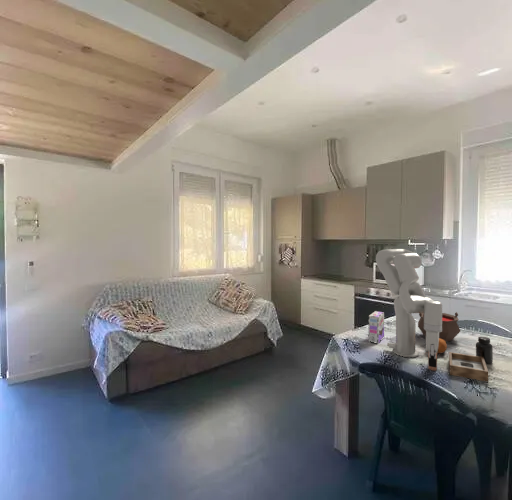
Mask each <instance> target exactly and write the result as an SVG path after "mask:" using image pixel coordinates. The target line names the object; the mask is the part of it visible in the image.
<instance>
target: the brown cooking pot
mask: <svg viewBox="0 0 512 500" xmlns="http://www.w3.org/2000/svg"><path fill="white" fill-rule="evenodd" d="M418 316H419V320H418V322H417V328H418V329H419V330H420V332H421V334H423V336H424V338H426V330H424V313H418ZM458 316H459V314H458V312H457V311H456V312H455V313H454V315H453V314H449V313H446V312H442V332H439V338H440V339H443V340H444V341H445V342H446V343H447V342H452V341H453V340H455V338H456V337H457V336H458V335H459V333H461V329H460V327H459V324H458V323H457V322H458V321H459V318H458Z"/></svg>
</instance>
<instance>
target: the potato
mask: <svg viewBox="0 0 512 500" xmlns="http://www.w3.org/2000/svg"><path fill="white" fill-rule="evenodd" d="M447 348H448V344H447V342H445V341H444V340H443V339H440V338H439V345H438V352H437V354H442V353H445V352H446V351H447Z"/></svg>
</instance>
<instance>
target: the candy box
mask: <svg viewBox="0 0 512 500" xmlns="http://www.w3.org/2000/svg"><path fill="white" fill-rule="evenodd" d="M383 337H384V338H385V312H382V311H377V310H374V312H372V313H371V314H369V315H368V339H367V341H371V342H376V343H379V344H380V342H381V341H382V340H383V339H384V338H383ZM382 338H383V339H382ZM381 339H382V340H381ZM380 340H381V341H380ZM371 342H370V343H371Z"/></svg>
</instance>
